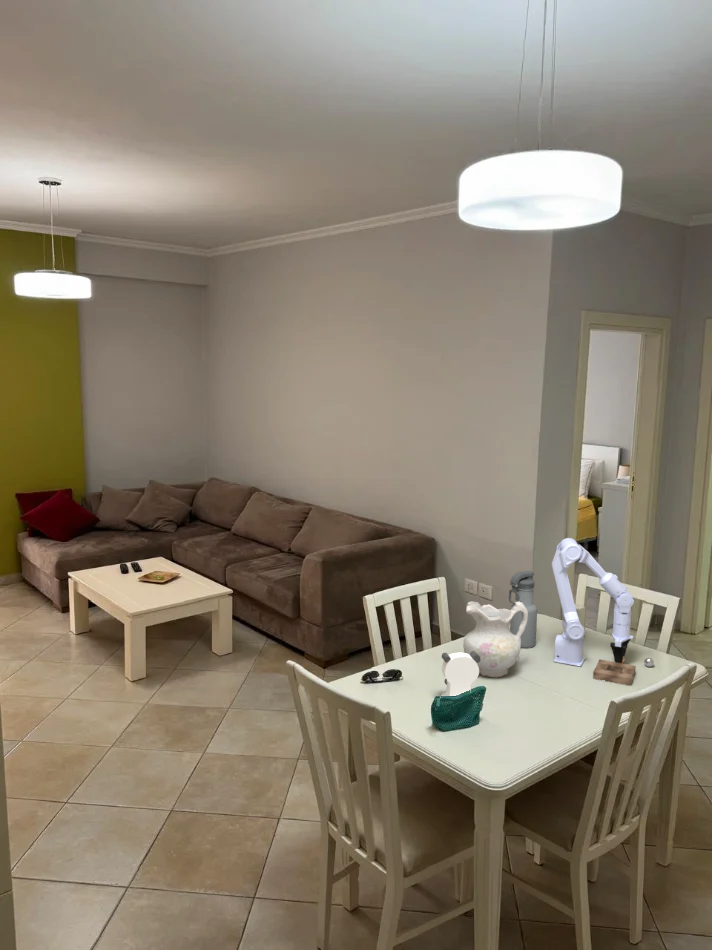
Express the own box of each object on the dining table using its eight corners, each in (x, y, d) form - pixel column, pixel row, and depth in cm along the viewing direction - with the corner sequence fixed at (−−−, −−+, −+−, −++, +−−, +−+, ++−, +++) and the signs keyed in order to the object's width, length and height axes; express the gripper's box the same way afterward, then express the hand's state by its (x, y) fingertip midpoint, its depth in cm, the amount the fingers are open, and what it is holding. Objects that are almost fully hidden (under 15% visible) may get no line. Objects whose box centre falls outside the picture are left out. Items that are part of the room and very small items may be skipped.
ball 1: (614, 664, 257) (614, 655, 257) (615, 661, 260) (615, 652, 260) (623, 665, 256) (624, 657, 255) (624, 662, 259) (625, 654, 258)
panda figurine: (472, 690, 236) (473, 646, 234) (483, 706, 225) (485, 659, 223) (436, 692, 234) (437, 648, 232) (446, 708, 223) (447, 662, 221)
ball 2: (643, 667, 255) (643, 658, 254) (644, 664, 258) (645, 655, 257) (653, 668, 253) (653, 660, 253) (654, 665, 256) (654, 657, 256)
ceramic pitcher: (509, 660, 264) (508, 592, 262) (538, 677, 245) (537, 604, 243) (454, 667, 257) (453, 598, 255) (480, 685, 238) (479, 611, 237)
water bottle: (518, 650, 270) (520, 577, 266) (503, 641, 279) (505, 570, 275) (541, 646, 273) (544, 574, 270) (526, 638, 282) (528, 568, 279)
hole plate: (593, 678, 245) (593, 671, 245) (599, 666, 256) (599, 659, 255) (630, 685, 239) (631, 678, 239) (635, 672, 250) (635, 665, 250)
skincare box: (585, 637, 283) (586, 607, 282) (577, 639, 281) (579, 609, 279) (572, 632, 288) (573, 603, 287) (564, 635, 286) (565, 605, 284)
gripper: (631, 631, 248) (628, 668, 250) (636, 618, 260) (634, 654, 262) (609, 627, 251) (607, 665, 253) (615, 615, 264) (613, 651, 266)
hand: (619, 659), depth 258 cm, fingers open, 7 cm apart
